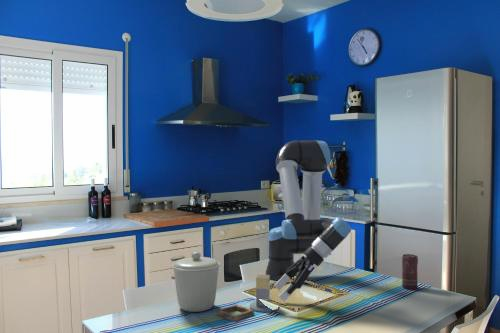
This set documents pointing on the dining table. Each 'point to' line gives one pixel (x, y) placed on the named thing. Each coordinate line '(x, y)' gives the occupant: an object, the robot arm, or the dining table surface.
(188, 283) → the canister
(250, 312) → the socket frame
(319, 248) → the robot arm
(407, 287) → the can
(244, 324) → the dining table surface
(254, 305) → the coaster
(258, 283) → the yellow and grey cylinder
